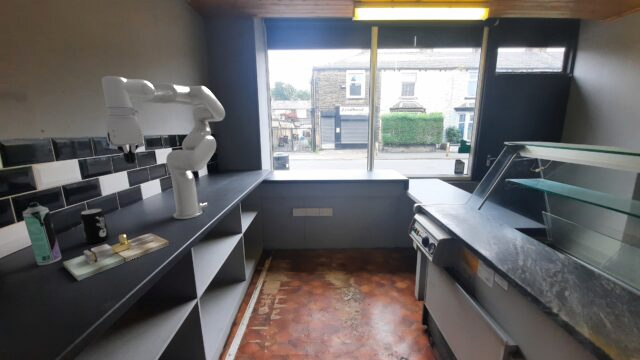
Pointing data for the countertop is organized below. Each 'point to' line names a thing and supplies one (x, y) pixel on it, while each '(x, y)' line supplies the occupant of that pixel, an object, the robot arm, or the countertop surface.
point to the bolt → (118, 245)
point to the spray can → (41, 234)
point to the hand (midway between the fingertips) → (130, 163)
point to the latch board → (112, 256)
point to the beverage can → (94, 226)
